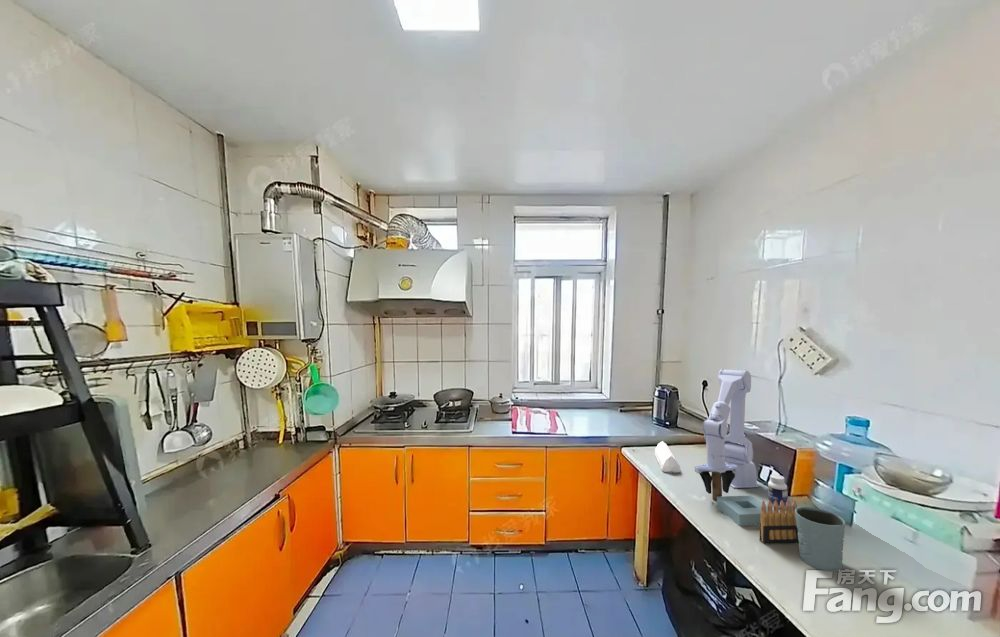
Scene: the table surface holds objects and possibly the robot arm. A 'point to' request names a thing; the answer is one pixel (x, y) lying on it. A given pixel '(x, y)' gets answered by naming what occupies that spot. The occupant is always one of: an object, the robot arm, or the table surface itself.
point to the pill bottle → (777, 490)
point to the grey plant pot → (820, 538)
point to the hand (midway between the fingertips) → (717, 492)
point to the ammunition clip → (778, 524)
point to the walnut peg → (716, 485)
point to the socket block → (741, 509)
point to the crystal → (666, 458)
